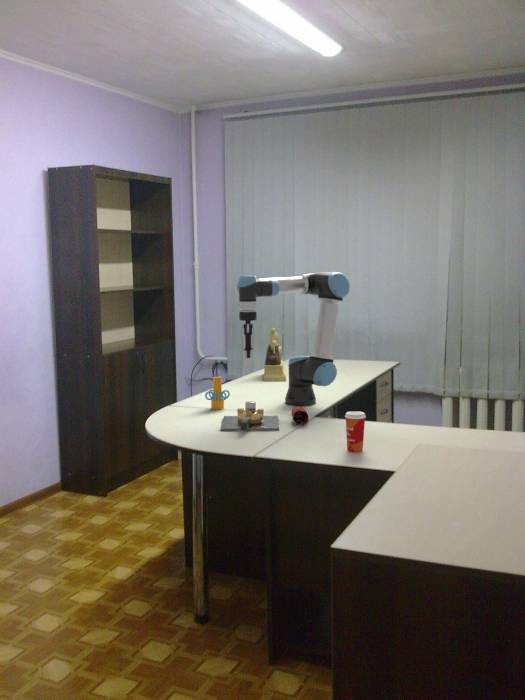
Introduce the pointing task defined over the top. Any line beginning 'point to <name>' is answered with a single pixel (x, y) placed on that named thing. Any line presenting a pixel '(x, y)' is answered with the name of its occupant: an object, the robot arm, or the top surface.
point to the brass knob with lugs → (249, 418)
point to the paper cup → (355, 430)
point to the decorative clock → (274, 360)
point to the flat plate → (268, 424)
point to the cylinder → (217, 394)
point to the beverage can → (300, 415)
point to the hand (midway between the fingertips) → (248, 364)
